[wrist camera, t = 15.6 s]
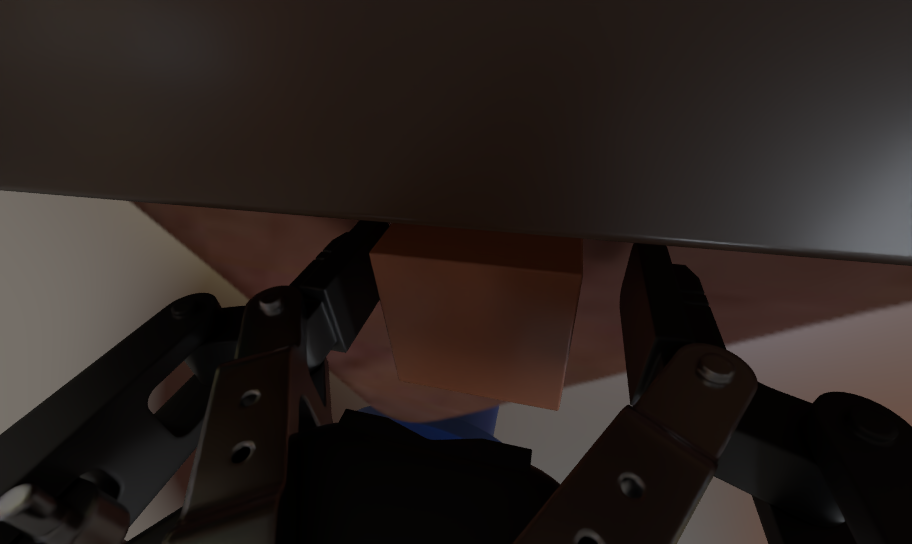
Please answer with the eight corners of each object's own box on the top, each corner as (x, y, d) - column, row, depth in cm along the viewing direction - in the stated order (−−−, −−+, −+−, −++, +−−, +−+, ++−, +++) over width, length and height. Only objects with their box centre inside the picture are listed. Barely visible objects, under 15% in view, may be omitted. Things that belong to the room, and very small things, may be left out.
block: (564, 300, 13) (558, 411, 10) (442, 285, 14) (398, 381, 11) (583, 179, 10) (583, 275, 7) (430, 172, 11) (367, 252, 8)
